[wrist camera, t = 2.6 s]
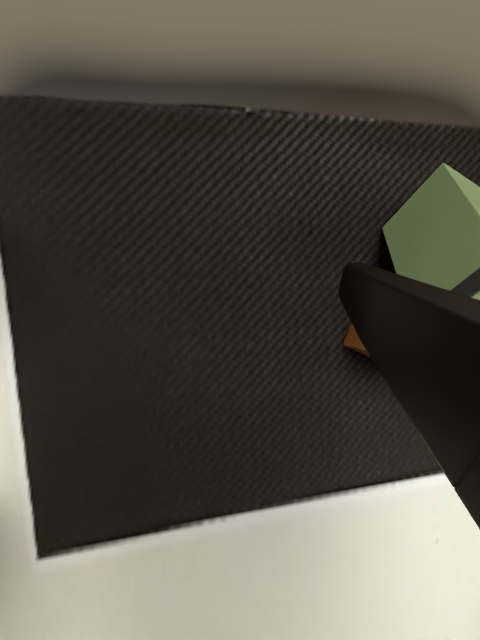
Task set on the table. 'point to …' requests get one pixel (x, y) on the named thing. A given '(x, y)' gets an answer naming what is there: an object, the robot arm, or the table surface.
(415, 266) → the box
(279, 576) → the table surface
